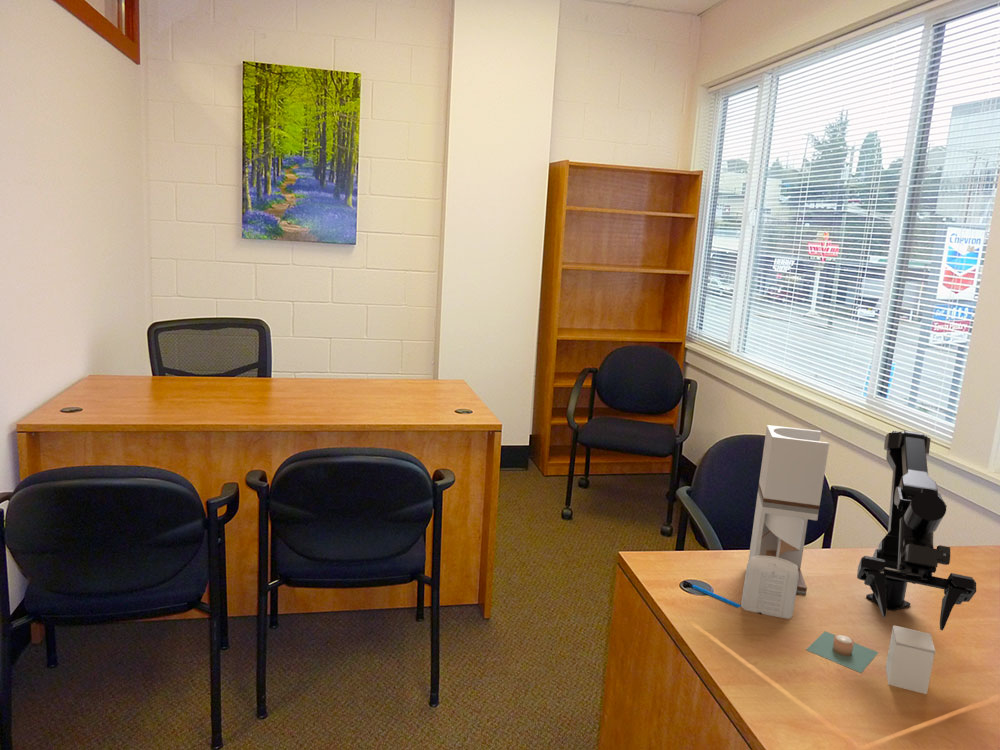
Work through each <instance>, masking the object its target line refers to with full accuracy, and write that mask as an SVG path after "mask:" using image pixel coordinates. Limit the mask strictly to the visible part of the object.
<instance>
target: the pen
mask: <svg viewBox="0 0 1000 750" xmlns="http://www.w3.org/2000/svg"><path fill="white" fill-rule="evenodd" d="M686 583H687V582H686ZM686 585H687V586H688V585H690V586H691V587H690V586H689V587H690V588H692V587H693V588H692V589H694V588H695V589H694V590H696V589H697V590H696V591H698V590H699V591H698V592H701V593H703V594H705V595H708V596H710V597H712V598H714V599H716V600H720V601H722V602H724V603H726V604H729V605H731V606H733V607H735V608H737V609H738V608H742V607H741V603H740V604H739V603H737V602H735V601H733V600H730V599H728V598H727V597H726V598H725V597H723V596H721V595H718V594H717V593H715V592H711V591H709V590H708V589H705V588H702V587H700V586H698V585H695V584H693V583H687V584H686ZM757 614H759V615H763V614H762V613H760V612H757Z"/></svg>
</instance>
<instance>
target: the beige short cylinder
mask: <svg viewBox="0 0 1000 750" xmlns="http://www.w3.org/2000/svg"><path fill="white" fill-rule="evenodd" d="M834 635H835V636H834V642H833V648H832V649H833V651H834V652H836V653H837V654H839V655H843V656H850V655H852V651H853V645H854V643H855V640H854V639H853V638H851V637H850V636H847V635H844V634H834Z"/></svg>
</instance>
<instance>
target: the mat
mask: <svg viewBox="0 0 1000 750" xmlns="http://www.w3.org/2000/svg"><path fill="white" fill-rule="evenodd" d="M835 635H836V634H833V633H831V632H828V631H826V630H825V631H823V632H822V633H821V634H820V635H819V636H818V637H817V638H816V639H815V640H814V641H813V642H812V643H811V644H810V645H809V646H807V647H806V649H805V651H808V652H810V653H812V654H814V655H816V656H819V657H821V658H824V659H826V660H828V661H831V662H834V663H835V664H838V665H841V666H843V667H846V668H848V669H850V670H853V671H855V672H857V673H860V674H862V673H863V672H864V670H865V669H866V668H867V667H868V666H869V665H870V664H871V662H872V661H873V660H874V658H875V657H876V656H877V655H878V653H879V652H878V651H876V650H874V649H871V648H869V647H866V646H864V645H862V644H860V643H856V642H854V645H853V651H852V655H850V656H843V655H839V654H837V653H836V652H834V651H833V649H832V648H833V642H834V636H835Z"/></svg>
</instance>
